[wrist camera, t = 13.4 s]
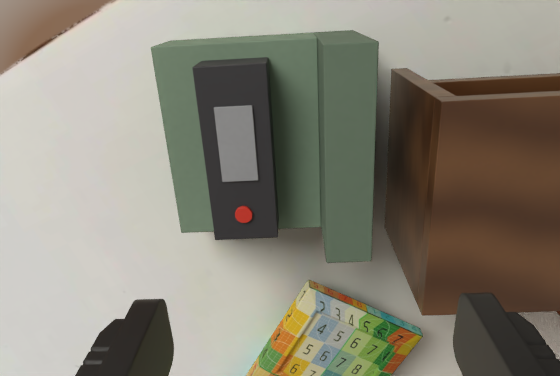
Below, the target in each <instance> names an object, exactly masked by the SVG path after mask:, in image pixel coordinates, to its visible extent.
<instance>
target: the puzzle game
mask: <svg viewBox="0 0 560 376" xmlns="http://www.w3.org/2000/svg"><path fill="white" fill-rule="evenodd" d="M422 337H423V335H422V333H421V330H420V328H418V327H416V326H413V325H411V324H409V323H407V322H404V321H402V320H400V319H397V318H395V317H393V316H391V315H388V314H386V313H384V312H382V311H379V310H377V309H375V308H373V307H370V306H368V305H366V304H363V303H361V302H359V301H357V300H354V299H352V298H350V297H348V296H345V295H343V294H341V293H338V292H336V291H334V290H332V289H329V288H327V287H325V286H323V285H320V284H318V283H316V282H314V281H311V280H308V281H307V282H306V284H305V285H304V287H303V288H302V290H301V291H300V293H299V294H298V296H297V297H296V299H295V301H294V302H293V304H292V305H291V307H290V308H289V310H288V311H287V313H286V314H285V316H284V318H283V319H282V321H281V322H280V324H279V325H278V327H277V328H276V330H275V331H274V333H273V335H272V336H271V338H270V339H269V341H268V342H267V344H266V345H265V347H264V348H263V350H262V352H261V353H260V355H259V356H258V358H257V359H256V361H255V362H254V364H253V365H252V367H251V369H250V370H249V372H248V373H247V375H246V376H391V375H392V374H393V372H394V371H395V370H396V369H397V367H398V366H399V365H400V364H401V363H402V361H403V360H404V359H405V358H406V356H407V355H408V354H409V353H410V351H411V350H412V349H413V348H414V347H415V345H416V344H417V343H418V342H419V340H420V339H421V338H422Z"/></svg>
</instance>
